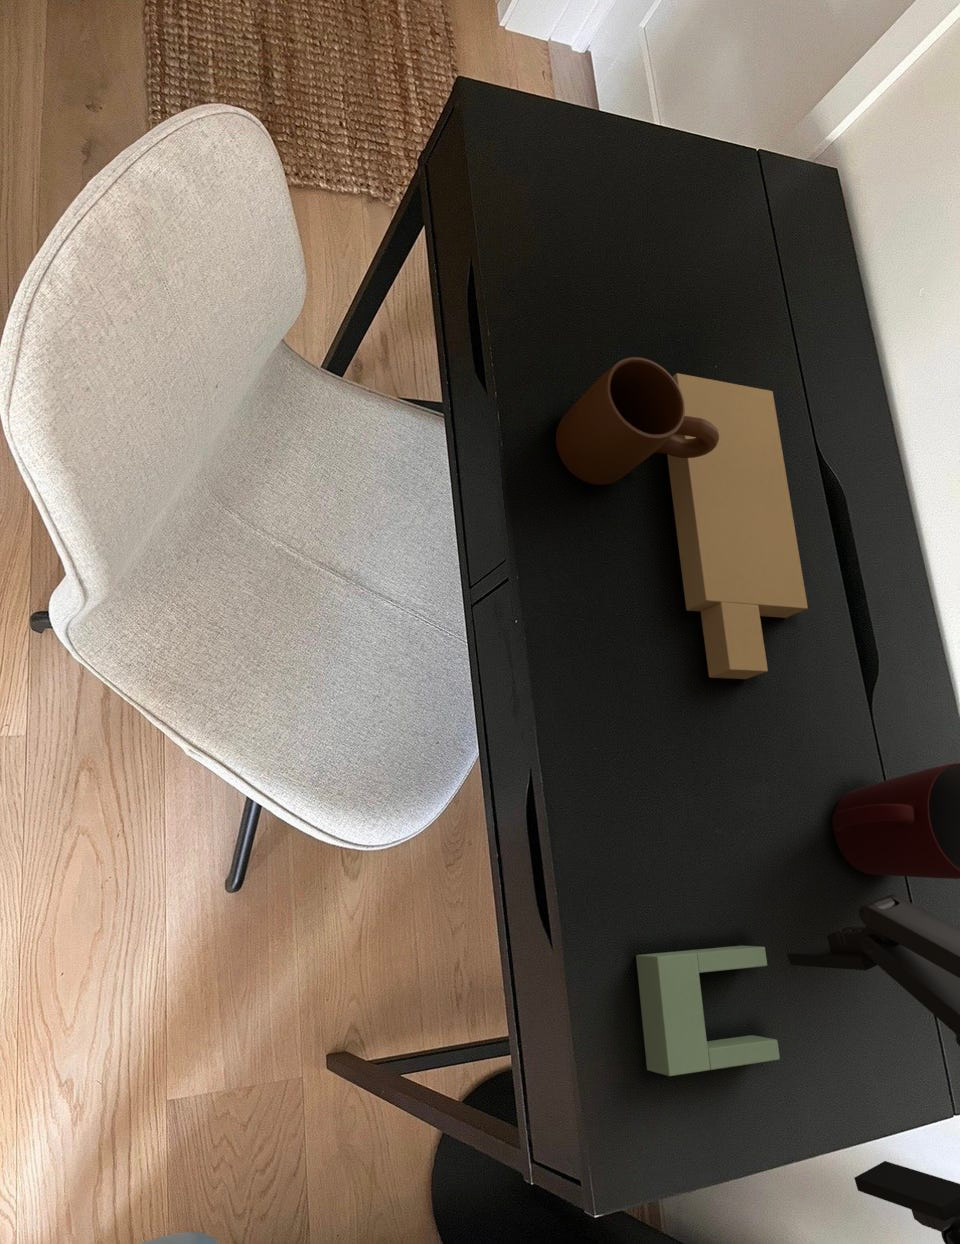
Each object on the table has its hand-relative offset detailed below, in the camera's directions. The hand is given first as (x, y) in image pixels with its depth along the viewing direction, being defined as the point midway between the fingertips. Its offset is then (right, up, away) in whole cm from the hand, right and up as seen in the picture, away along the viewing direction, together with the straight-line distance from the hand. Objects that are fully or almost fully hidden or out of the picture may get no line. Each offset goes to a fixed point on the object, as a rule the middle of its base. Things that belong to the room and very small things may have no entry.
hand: (836, 1061), depth 59 cm
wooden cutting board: (0, +37, +27) cm, 45 cm away
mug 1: (-11, +43, +24) cm, 50 cm away
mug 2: (+10, +10, +22) cm, 26 cm away
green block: (-6, -1, +12) cm, 13 cm away
